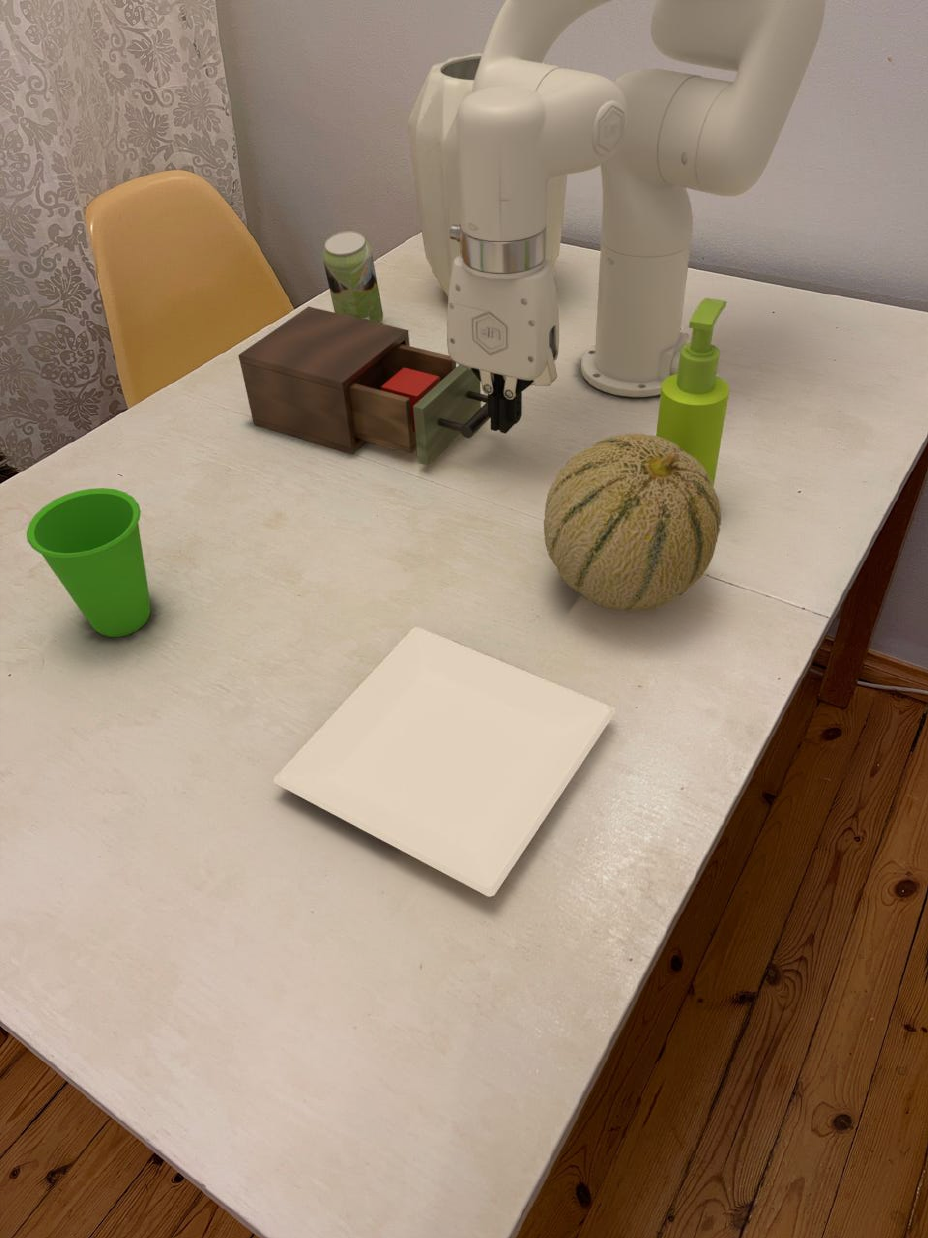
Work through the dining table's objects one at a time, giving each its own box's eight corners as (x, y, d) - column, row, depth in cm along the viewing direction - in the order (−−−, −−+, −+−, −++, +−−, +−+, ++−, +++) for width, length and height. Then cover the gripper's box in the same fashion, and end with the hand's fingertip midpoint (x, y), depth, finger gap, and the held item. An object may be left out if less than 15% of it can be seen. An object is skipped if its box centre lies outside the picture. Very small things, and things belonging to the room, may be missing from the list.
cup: (192, 594, 88) (160, 496, 80) (137, 663, 82) (97, 564, 74) (108, 576, 90) (70, 480, 83) (49, 642, 84) (2, 544, 77)
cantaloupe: (554, 529, 93) (557, 390, 82) (710, 543, 90) (734, 402, 80) (530, 635, 82) (530, 492, 72) (706, 655, 80) (732, 509, 69)
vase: (518, 340, 120) (517, 99, 102) (392, 307, 129) (369, 78, 110) (591, 280, 132) (602, 54, 113) (471, 253, 140) (463, 38, 121)
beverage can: (387, 315, 127) (377, 223, 119) (378, 342, 122) (367, 248, 113) (340, 315, 128) (327, 223, 119) (329, 342, 122) (315, 248, 114)
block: (442, 413, 105) (439, 376, 102) (420, 433, 102) (417, 396, 99) (407, 403, 107) (403, 367, 104) (385, 423, 104) (380, 386, 101)
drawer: (515, 422, 105) (514, 365, 100) (463, 476, 98) (459, 418, 93) (387, 388, 112) (381, 333, 107) (329, 437, 105) (320, 380, 100)
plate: (492, 913, 64) (491, 896, 62) (275, 796, 71) (270, 779, 70) (615, 724, 75) (617, 706, 73) (416, 640, 82) (414, 623, 81)
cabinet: (414, 399, 111) (408, 329, 105) (352, 454, 104) (342, 382, 98) (319, 373, 117) (308, 306, 111) (253, 424, 109) (237, 354, 103)
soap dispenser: (719, 490, 96) (751, 298, 82) (700, 530, 92) (731, 334, 78) (661, 478, 98) (683, 288, 84) (641, 516, 94) (661, 323, 80)
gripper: (410, 247, 86) (423, 425, 99) (561, 277, 81) (555, 462, 93) (452, 218, 91) (459, 392, 103) (598, 244, 85) (587, 425, 98)
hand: (505, 425), depth 98 cm, fingers closed
